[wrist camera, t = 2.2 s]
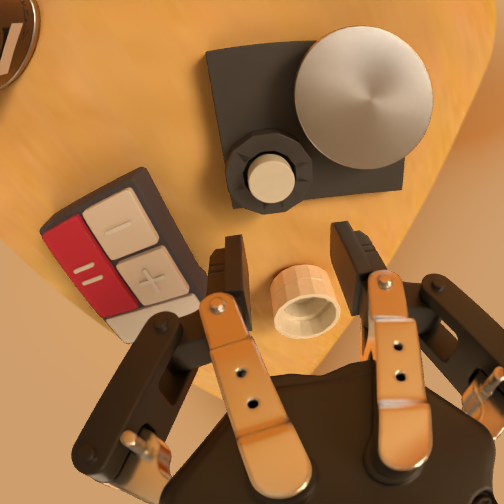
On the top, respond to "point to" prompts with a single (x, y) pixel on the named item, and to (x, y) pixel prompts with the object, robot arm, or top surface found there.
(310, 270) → the bowl
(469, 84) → the top surface
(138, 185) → the calculator
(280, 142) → the grey knob plate
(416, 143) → the pan
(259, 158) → the button
